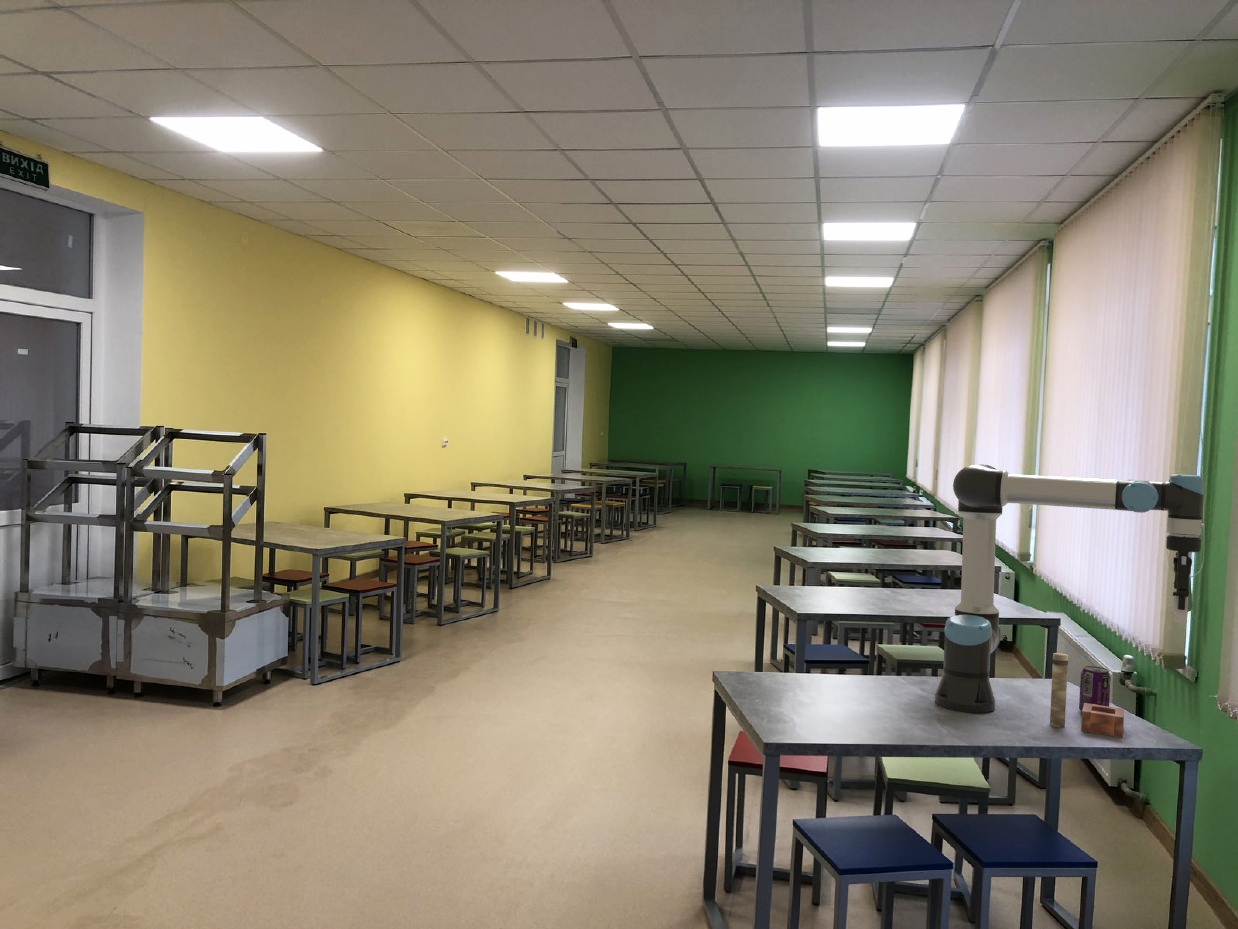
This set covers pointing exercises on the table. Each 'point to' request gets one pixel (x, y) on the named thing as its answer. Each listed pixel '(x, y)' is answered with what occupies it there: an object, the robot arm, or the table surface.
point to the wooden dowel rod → (1058, 690)
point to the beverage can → (1094, 686)
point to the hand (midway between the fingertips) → (1179, 618)
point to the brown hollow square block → (1102, 720)
